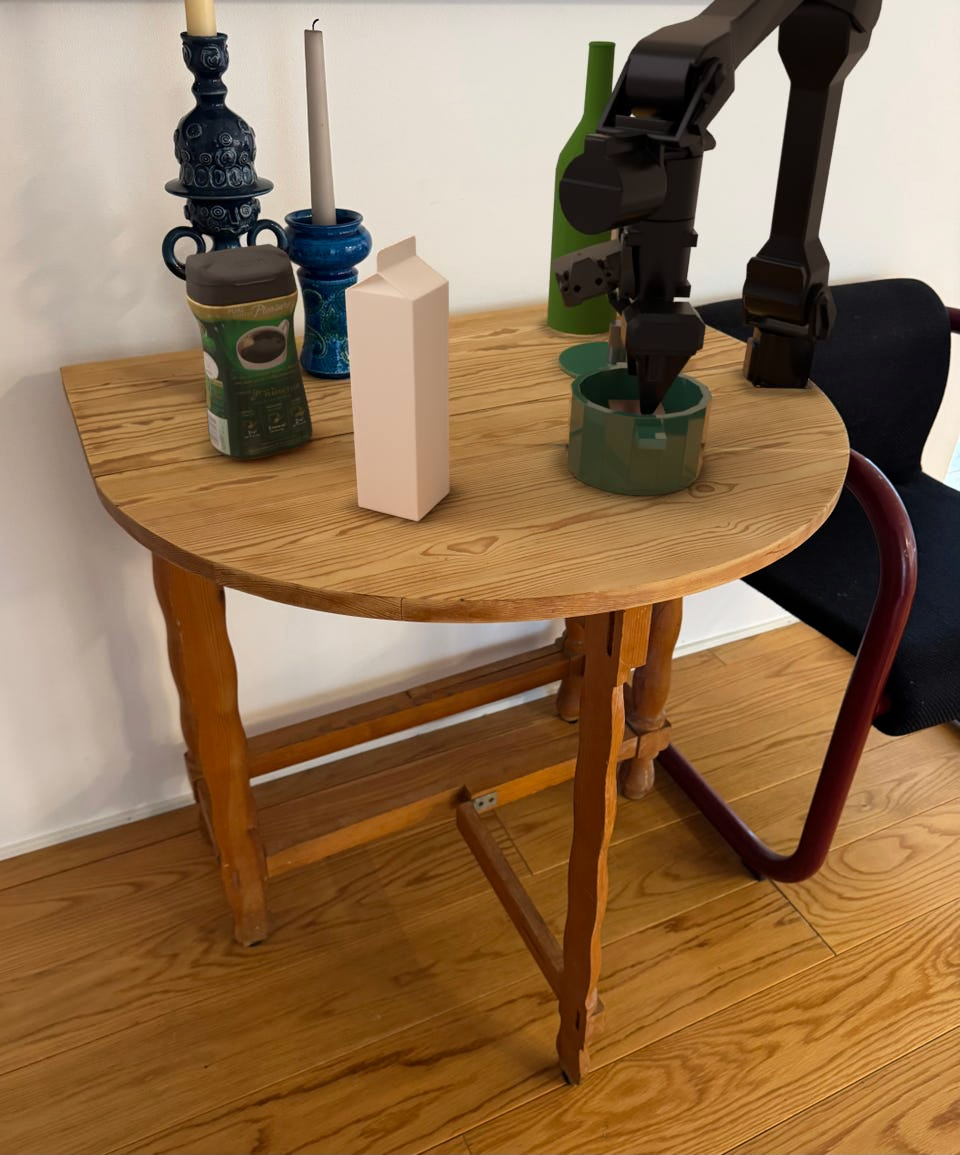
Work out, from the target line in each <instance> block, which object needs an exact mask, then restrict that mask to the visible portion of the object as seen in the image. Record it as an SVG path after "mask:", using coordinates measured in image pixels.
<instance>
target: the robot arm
mask: <svg viewBox="0 0 960 1155" xmlns="http://www.w3.org/2000/svg"><path fill="white" fill-rule="evenodd" d="M882 7H883V0H713V1H712V2H711V3H710V4H709V5H708V6H706V7H705V8H704V9H703V10H702V11H701V12H700V13H698V14H697V15H696V16H694V17H692V18H689V19H688V20H684V21H680V22H676V23H673V24H669V25H665V26H662V27H660V28H659V29H657V30H655V31H653V32H651V33H650V34H648V35H646V36H644V37H642V38H641V39H640V40H638V41H637V42H636V43H635V45H634V46H633V47H632V49H631V50H630V52H629V53H628V56H627V59H626V61H625V63H624V65H623V68H622V70H621V72H620V74H619V76H618V78H617V81H616V82H615V85H614V86H613V87H614V88H612V94H611V96H610V98H609V101H608V103H607V105H606V107H605V109H604V112H603V114H602V116H601V118H600V121H599V123H598V125H597V127H596V134H589V135H586V137H585V141H584V153H582V154H580V155H578V156H577V157H575V158H574V159H573V160H572V161H571V162H570V163H569V164H568V166H567V168H566V169H565V171H564V174H563V177H562V180H561V181H560V182H559V201H560V205H561V209H562V212H563V214H564V216H565V218H566V219H567V221H568V222H569V224H570V225H571V226H572V227H573V228H575V229H576V230H577V231H579V232H581V233H583V234H586V235H597V234H600V233H604V232H607V231H611V230H614V229H617V231H616V239H614V240H611V241H608V242H604V243H600V244H596V245H593V246H590V247H587V248H584V249H581V250H578V251H575V252H572V253H569V254H567V255H564V256H561V257H559V258H557V259H555V260H554V261H553V262H552V264H553V269H554V274H555V277H556V280H557V284H558V287H559V290H560V294H561V297H562V300H563V304H564V306H565V307H567V308H570V307H575V306H578V305H581V304H582V302H583V301H586V300H589V299H592V298H595V297H598V296H601V295H604V294H606V295H607V298H608V301H609V303H610V304H611V305H612V307H613V308H614V309H615V310H616V311H617V314H619V316H620V317H621V319H620V320H621V337H620V339H621V342H622V345H623V348H624V350H625V351H626V360H627V369H628V374H629V375H630V376H637V378H638V393H639V405H640V413H641V414H643V415H651V414H653V413H654V412H655V410H656V409H657V407H658V405H659V404H660V402H661V401H662V399H663V398H664V396H665V395H666V393H667V391H668V390H669V388H670V387H671V385H672V384H673V382H674V381H675V379H676V378H677V376H678V375H679V373H681V372H682V371H683V369H684V368H685V366H686V365H687V363H688V362H689V361H690V360H691V358H692V357H694V356H696V355H697V353H698V351H701V350H703V349H704V343H705V335H706V329H707V326H706V324H705V322H704V320H703V319H702V317H701V315H700V313H699V312H698V310H697V309H696V308H695V307H694V306H693V305H692V304H691V303H690V301H675V299H676V298H677V299H678V298H680V299H690V298H691V293H692V284H691V282H690V281H689V279H688V277H689V276H688V275H689V274H688V273H689V269H690V268H689V267H690V261H691V260H690V259H691V254H692V253H691V252H692V248H697V247H698V239H699V233H698V232H697V230H696V229H695V223H696V214H697V206H698V198H699V191H700V185H701V176H702V169H703V160H704V153H705V152H710V151H713V150H715V148H716V147H717V140H716V139H715V137H714V135H713V134H712V132H710V131H709V129H708V127H709V125H710V124H711V123H712V121H713V120H714V119H715V118H716V116H717V115H718V114H719V112H720V111H721V110H722V108H723V107H724V106H725V105H726V104H727V102H728V100H729V99H730V98H731V97H732V95H733V94H734V92H735V90H736V71H737V69H738V68H739V67H740V65H741V64H742V63H743V61H744V60H745V59H746V58H747V57H748V56H750V55H751V54H752V53H753V52H754V51H755V50H756V49H757V48H758V47H759V46H760V45H761V44H762V43H763V41H765V40H766V39H767V38H769V36H770V35H771V34H772V33H773V32H774V31H775V30H776V29H777V28H778V31H777V53H778V55H779V58H780V61H781V64H782V65H783V68H784V70H785V73H786V75H787V77H788V80H789V93H788V100H787V107H786V114H785V120H784V130H783V137H782V143H781V150H780V157H779V165H778V172H777V179H776V188H775V193H774V194H775V195H774V201H773V202H774V203H773V208H772V217H771V223H770V230H769V237H768V239H767V241H766V242H765V243H764V244H763V246H762V247H761V248H760V249H759V251H758V252H757V253H756V255H755V256H751V257H750V258H749V260H748V261H747V263H746V268H745V269H746V270H745V272H746V273H745V280H744V282H743V286H742V292H741V300H742V301H741V305H742V306H741V307H742V308H741V309H742V310H741V311H742V312H741V313H742V326H744V327H745V326H746V327H753V328H754V329H753V335H752V337H748V338H747V341H746V347H745V353H744V359H743V363H742V371H741V372H742V374H743V376H744V377H745V378H746V380H747V381H748V382H750V383H751V385H752V387H754V388H756V389H779V390H780V389H781V390H782V389H784V390H786V389H788V390H812V389H813V386H812V385H811V384H810V382H809V379H810V374H811V369H812V364H813V359H814V355H815V350H816V345H817V341H827V340H829V339H830V335H831V333H832V330H833V328H834V327H835V322H836V318H837V315H838V312H837V309H836V305H835V302H834V298H833V296H832V292H831V288H830V286H829V280H830V278H829V277H830V268H831V263H830V259H829V258H828V255H827V253H826V251H825V248H824V245H823V243H822V241H821V239H820V231H821V230H820V229H821V224H822V217H823V212H824V205H825V199H826V193H827V187H828V181H829V176H830V169H831V163H832V159H833V158H832V157H833V152H834V145H835V140H836V135H837V127H838V123H839V122H838V121H839V116H840V111H841V110H840V109H841V103H842V97H843V91H844V87H845V81H846V79H847V78H848V76H850V74H851V73H852V71H853V70H854V68H855V67H856V66H857V65H858V63H859V62H860V60H861V59H862V58H863V56H864V55H865V54H866V53H867V51H868V50H869V47H870V43H871V40H872V34H873V30H874V28H876V26H877V24H878V21H879V18H880V16H881V13H882V12H881V11H882ZM614 290H615V291H614Z"/></svg>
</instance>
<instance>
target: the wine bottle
mask: <svg viewBox="0 0 960 1155" xmlns="http://www.w3.org/2000/svg"><path fill="white" fill-rule="evenodd" d="M616 46H617V43H616V42H614V41H605V40H604V41H603V40H602V41H600V40H596V41H595V40H593V41H589V42H588V54H587V55H588V56H587V65H586V66H587V68H586V78H585V91H584V92H585V93H584V103H583V104H584V105H583V113H582V116H581V119H580V121H579V122H578V124H577V126H576V127H575V129H574V131H573V132H572V133H571V135H570V136H569V138H568V140H567V141H566V143H565V145H564V146H563V148H562V149H561V151H560V153H559V155H558V158H557V162H556V166H555V172H554V173H555V175H554V191H553V208H552V228H551V245H550V246H551V247H550V262H549V265H550V266H549V281H548V282H549V283H548V297H547V298H548V299H547V300H548V302H547V319H546V324H547V326H548V327H549V328H550V329H552V330H554V331H556V332H559V333H563V334H569V335H575V336H576V335H577V336H594V335H602V334H603V335H604V334H606V333H609V326H610V322H611V321H613V320H617V315H618V312H617V311H616V310H615V309H614V308H613V307H612V305H611V304H610V303H609V301H608V298H607V295H606V294H604V295H601V296H598V297H595V298H592V299H589V300H586V301H583V302H582V304H581V305H578V306H575V307H570V308H567V307H565V306H564V304H563V300H562V297H561V294H560V290H559V287H558V284H557V280H556V277H555V274H554V269H553V264H552V262H553V261H554V260H555V259H557V258H559V257H561V256H564V255H567V254H569V253H572V252H575V251H578V250H581V249H584V248H587V247H590V246H593V245H596V244H600V243H604V242H608V241H611V240H614V239H616V231H617V229H614V230H611V231H607V232H604V233H600V234H597V235H586V234H583V233H581V232H579V231H577V230H576V229H575V228H573V227H572V226H571V225H570V224H569V222H568V221H567V219H566V218H565V216H564V214H563V212H562V209H561V205H560V201H559V182H560V181H561V180H562V177H563V174H564V171H565V169H566V168H567V166H568V164H569V163H570V162H571V161H572V160H573V159H574V158H575V157H577V156H578V155H580V154H582V153H584V141H585V137H586V135H589V134H596V127H597V125H598V123H599V121H600V118H601V116H602V114H603V112H604V109H605V107H606V105H607V103H608V101H609V98H610V96H611V94H612V92H613V83H614V68H615V54H616V53H615V52H616ZM614 291H615V290H614Z"/></svg>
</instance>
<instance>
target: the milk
mask: <svg viewBox="0 0 960 1155" xmlns="http://www.w3.org/2000/svg"><path fill="white" fill-rule="evenodd" d="M375 258H376V259H375V264H376V265H375V266H376V272H374V273H373V274H371V275H369V276H367V277H365V278H364V279H362V280H360V281H358V282H356V283H355V284H353V285H351V286H349V287H348V288H345V290H344V294H345V296H344V297H345V311H346V328H347V344H348V359H349V375H350V376H349V377H350V390H351V391H350V392H351V406H352V408H351V409H352V423H353V439H354V454H355V471H356V487H357V502H358V507H359V508H362V509H366V510H370V511H374V512H379V513H382V514H387V515H391V516H394V517H398V518H402V519H406V520H410V521H414V522H419V521H421V520H422V519H423V518H424V517H425V516H426V515H427V514H428V513H429V512H430V511H431V510H433V509H434V508H435V506H437V505H438V504H439V503H440V502H441V501H442V500H443V499H444V498H445V497H446V496H447V495H449V494H450V283H449V280H448V279H447V278H446V277H445V276H443V275H442V274H441V273H440V272H438V270H436V269H435V268H434V267H433V266H431V265H430V264H428V262H426V261H425V260H424V259H423V258H421V257H420V256H419V255H417V239H416V236H415V235H411V236H408V237H406V238H403V239H400V240H398V241H397V242H395V243H394V242H393V243H392V244H390V245H387V246H385V247H383V248H381V249H379V250H377V252H376V254H375Z"/></svg>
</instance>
